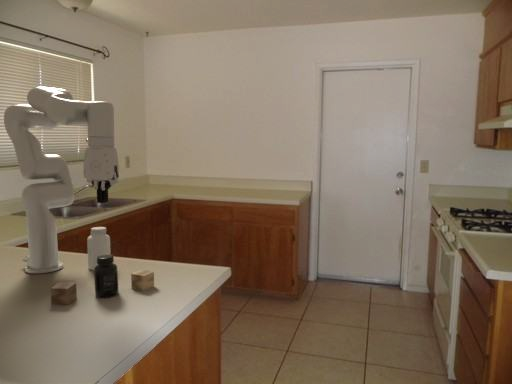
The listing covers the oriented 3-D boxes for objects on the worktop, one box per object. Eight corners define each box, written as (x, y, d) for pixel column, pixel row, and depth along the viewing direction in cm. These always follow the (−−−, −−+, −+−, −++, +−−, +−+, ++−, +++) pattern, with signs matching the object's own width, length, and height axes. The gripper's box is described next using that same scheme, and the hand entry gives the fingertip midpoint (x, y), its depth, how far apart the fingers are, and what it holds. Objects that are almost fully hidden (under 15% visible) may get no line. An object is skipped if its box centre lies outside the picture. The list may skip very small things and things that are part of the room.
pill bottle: (115, 265, 158) (114, 226, 156) (102, 271, 150) (100, 231, 149) (97, 263, 160) (95, 225, 158) (83, 269, 153) (81, 229, 151)
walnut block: (51, 305, 120) (50, 288, 119) (60, 298, 125) (59, 282, 124) (68, 305, 120) (67, 288, 119) (76, 299, 125) (75, 282, 124)
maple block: (131, 288, 134) (131, 273, 133) (142, 284, 138) (142, 269, 138) (143, 291, 132) (143, 275, 131) (154, 286, 136) (153, 271, 135)
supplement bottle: (121, 290, 132) (120, 253, 131) (114, 298, 125) (113, 259, 124) (99, 290, 132) (97, 253, 130) (91, 298, 125) (90, 259, 124)
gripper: (72, 142, 126) (74, 202, 128) (113, 143, 121) (115, 206, 123) (89, 142, 133) (91, 199, 135) (129, 143, 128) (130, 202, 130)
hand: (102, 202), depth 129 cm, fingers closed
